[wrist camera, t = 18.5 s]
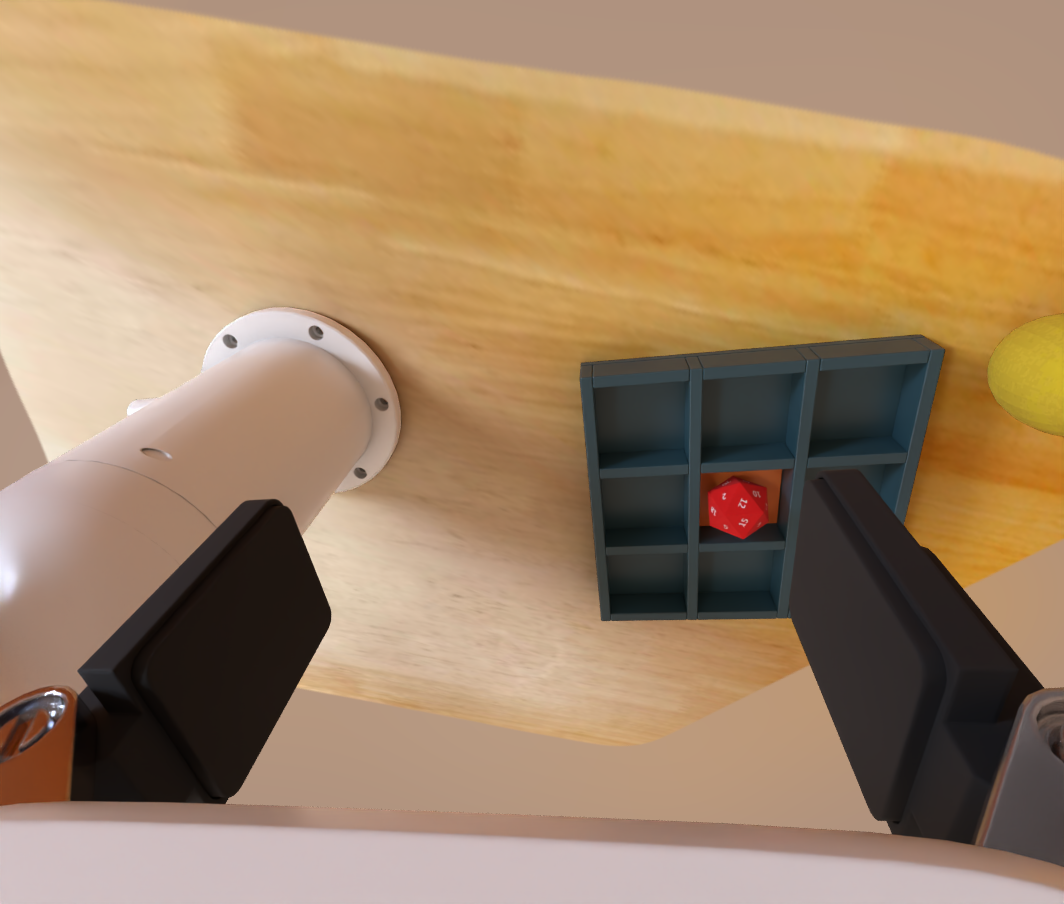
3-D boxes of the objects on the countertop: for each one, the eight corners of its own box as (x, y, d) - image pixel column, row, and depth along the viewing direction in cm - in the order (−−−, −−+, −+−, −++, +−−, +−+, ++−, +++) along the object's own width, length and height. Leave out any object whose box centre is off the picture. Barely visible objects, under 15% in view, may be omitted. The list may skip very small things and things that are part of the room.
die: (712, 539, 36) (759, 555, 32) (683, 503, 35) (729, 515, 31) (745, 499, 37) (795, 510, 33) (718, 462, 35) (766, 469, 32)
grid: (601, 596, 41) (601, 621, 39) (580, 362, 33) (579, 378, 31) (866, 590, 39) (882, 617, 37) (921, 334, 30) (946, 349, 28)
